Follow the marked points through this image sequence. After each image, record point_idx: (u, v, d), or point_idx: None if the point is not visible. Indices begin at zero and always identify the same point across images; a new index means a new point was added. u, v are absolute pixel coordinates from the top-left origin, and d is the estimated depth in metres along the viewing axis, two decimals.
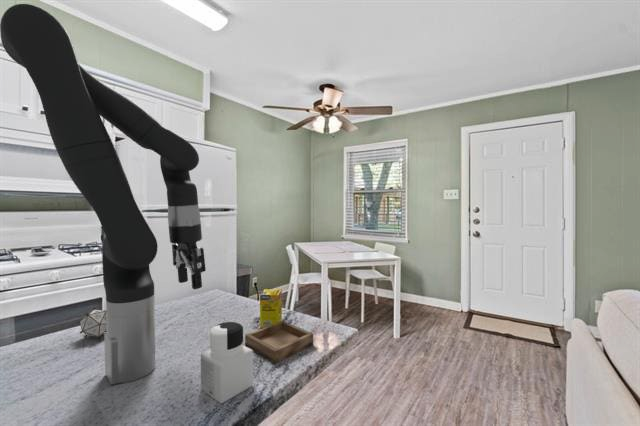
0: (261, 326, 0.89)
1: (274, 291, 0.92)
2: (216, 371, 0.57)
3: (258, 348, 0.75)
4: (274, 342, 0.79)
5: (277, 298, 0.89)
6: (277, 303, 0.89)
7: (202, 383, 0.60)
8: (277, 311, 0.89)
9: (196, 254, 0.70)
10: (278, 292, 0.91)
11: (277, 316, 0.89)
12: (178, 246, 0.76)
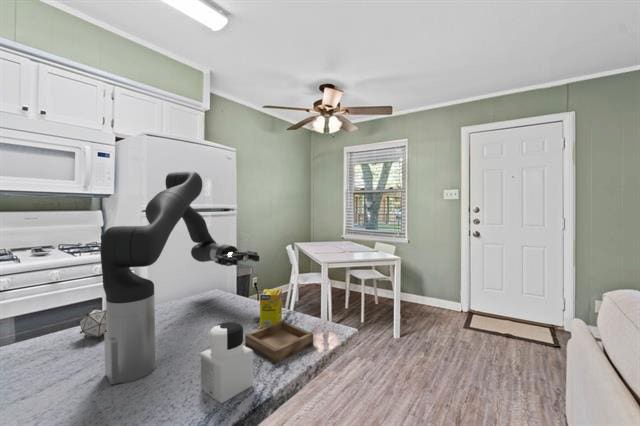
0: (261, 326, 0.89)
1: (274, 291, 0.92)
2: (216, 371, 0.57)
3: (258, 348, 0.75)
4: (274, 342, 0.79)
5: (277, 298, 0.89)
6: (277, 303, 0.89)
7: (202, 383, 0.60)
8: (277, 311, 0.89)
9: None
10: (278, 292, 0.91)
11: (277, 316, 0.89)
12: (226, 254, 1.05)
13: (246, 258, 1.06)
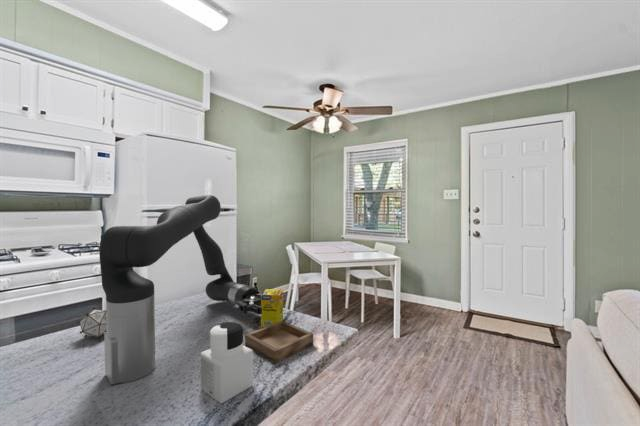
0: (262, 326, 0.89)
1: (275, 291, 0.92)
2: (216, 371, 0.57)
3: (258, 348, 0.75)
4: (274, 342, 0.79)
5: (278, 298, 0.88)
6: (278, 303, 0.88)
7: (202, 383, 0.60)
8: (278, 311, 0.88)
9: None
10: (279, 292, 0.91)
11: (278, 316, 0.88)
12: (246, 298, 0.96)
13: None
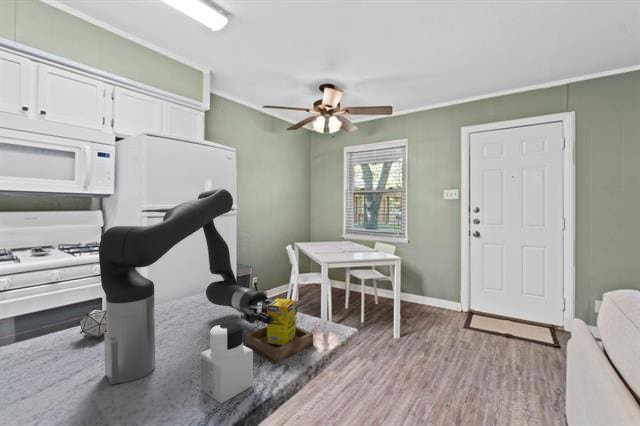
0: (268, 341, 0.77)
1: (285, 302, 0.79)
2: (216, 371, 0.57)
3: (258, 348, 0.75)
4: None
5: (286, 311, 0.75)
6: (285, 316, 0.75)
7: (202, 383, 0.60)
8: (285, 326, 0.75)
9: None
10: (289, 303, 0.78)
11: (285, 332, 0.75)
12: (253, 305, 0.83)
13: None
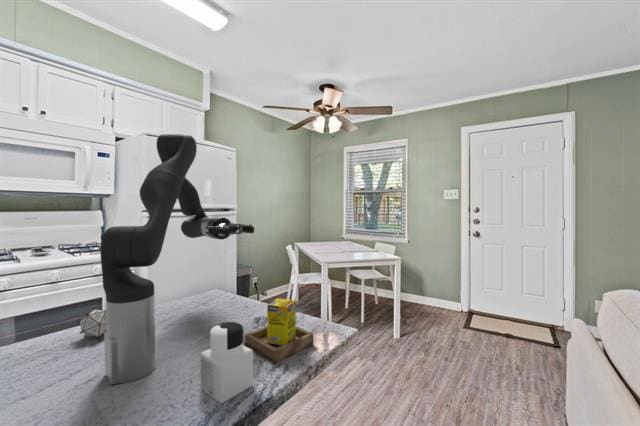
0: (268, 341, 0.77)
1: (285, 302, 0.79)
2: (216, 371, 0.57)
3: (258, 348, 0.75)
4: None
5: (286, 311, 0.75)
6: (285, 316, 0.75)
7: (202, 383, 0.60)
8: (285, 326, 0.75)
9: None
10: (289, 303, 0.78)
11: (285, 332, 0.75)
12: (217, 226, 0.96)
13: (240, 230, 0.98)
